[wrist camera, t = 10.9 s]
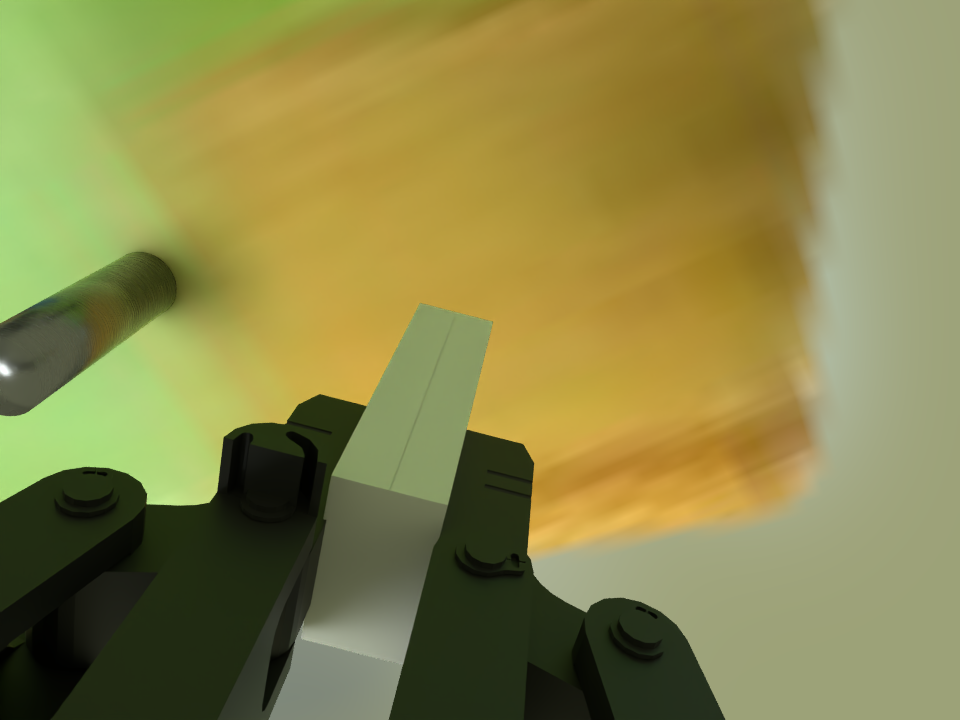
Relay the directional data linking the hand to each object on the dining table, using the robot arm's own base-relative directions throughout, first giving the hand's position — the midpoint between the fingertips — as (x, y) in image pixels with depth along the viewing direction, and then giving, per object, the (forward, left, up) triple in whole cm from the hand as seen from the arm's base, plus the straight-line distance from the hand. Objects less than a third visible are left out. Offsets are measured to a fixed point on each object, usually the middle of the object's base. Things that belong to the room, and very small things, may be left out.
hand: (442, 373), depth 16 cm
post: (+6, -13, -14) cm, 20 cm away
